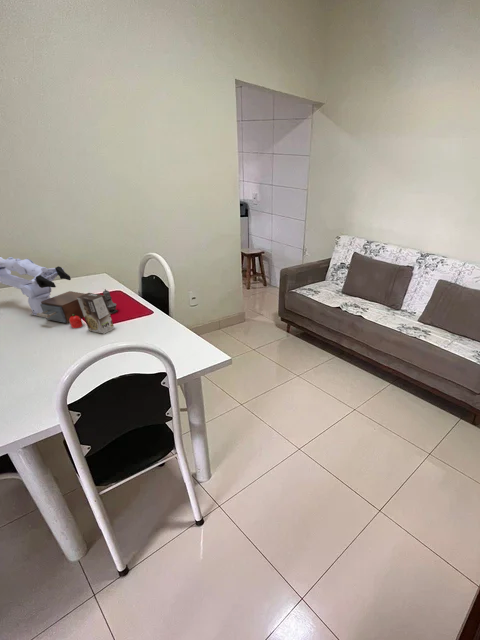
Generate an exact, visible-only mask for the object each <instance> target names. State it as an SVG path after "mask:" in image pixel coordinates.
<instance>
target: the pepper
mask: <svg viewBox="0 0 480 640" xmlns="http://www.w3.org/2000/svg"><path fill="white" fill-rule="evenodd" d="M69 322H70V323H69V325H70V327H71V328H72V329H79V328H82V327H83V326H84V323H83V321H82V318H80V317H79V316H76V315H74V314H72V316H71V317H70V318H69Z"/></svg>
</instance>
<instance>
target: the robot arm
mask: <svg viewBox="0 0 480 640" xmlns="http://www.w3.org/2000/svg"><path fill="white" fill-rule="evenodd" d="M12 272H17V274H19V275H20V276H22V275H28V276H30V277H33V278H32V279H26V278H23V277H19V276H17V275H13V274H12ZM57 277H59V279H60V280H67V281H71V280H72V278H71V276H70V274H68V273H67V272H65V269H64V268H63V267H62V266H59V265H58V266H56V267H51V268H50V267H49V268H47V267H46V266H41V265H40V264H39V265H38V264H37V263H35V262H34V261H33V260H31V259H30V258H25V259H21V258H14V257H13V256H9V257H7V258H6V259H5V258H3V257H2V256H0V284H3V285H6V286H10V287H12V288H14V289H15V288H16V289H18V290H20V291H21V293H22V295H25V296H26V297H27V303H28V305H29V308H30V309H31V312H32V313H31V315H32V316H37V313H42V312H43V310H42V308H41V306H40V304H41V301H44V300H47V299H49V298H51V293H52V288H56V287H57V286H56V284H55V282H53V281H54V280H55V279H56V278H57Z"/></svg>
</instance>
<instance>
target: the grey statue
mask: <svg viewBox="0 0 480 640" xmlns="http://www.w3.org/2000/svg"><path fill="white" fill-rule="evenodd" d="M102 295H104V296H105V299H106V303H107V306H108V309H109V312H110V315H112V314H117V313H118V311H119V310H118V309H117V303H115V302H114V301H113V299H112V296H111V293H110V291H109V290H107V289H106V288H104V290H103V291H102Z"/></svg>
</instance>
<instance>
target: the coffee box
mask: <svg viewBox="0 0 480 640" xmlns="http://www.w3.org/2000/svg"><path fill="white" fill-rule="evenodd" d="M77 299H78V302H79V304H80V307H81V310H82V312H83V315H84V317H83V318H84V321H85V322H86V326H87V329H88V331H90V332H94V333H99V334H103V335H105V334H106V333H109V332H110V331H113V330H115V326H114V323H113V319H112V316H111V314H110V312H109V309H108V306H107V303H106V299H105V296H104V295H103V294H99V293H93V292H87V293H84V295H82V296H79V297H77Z"/></svg>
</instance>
